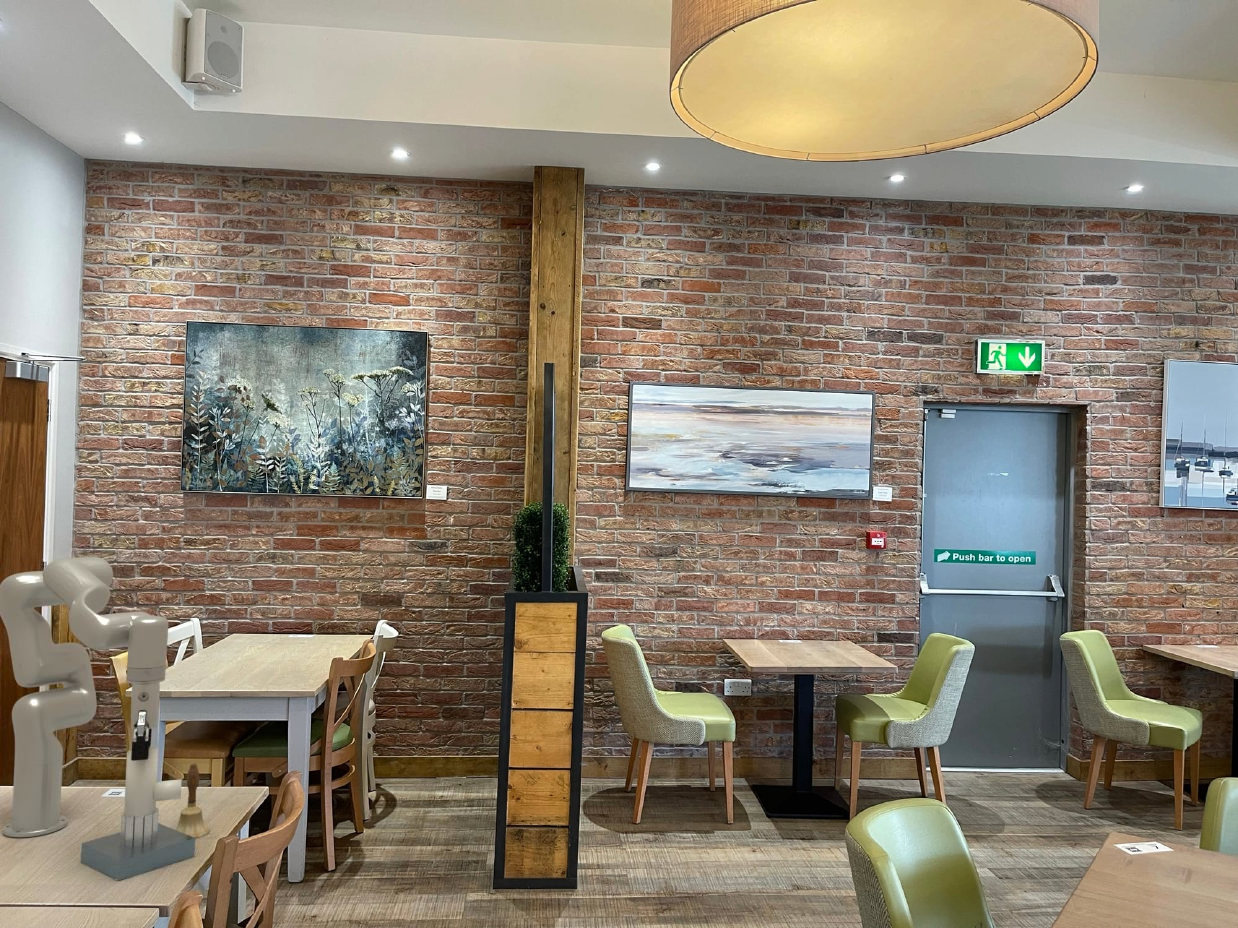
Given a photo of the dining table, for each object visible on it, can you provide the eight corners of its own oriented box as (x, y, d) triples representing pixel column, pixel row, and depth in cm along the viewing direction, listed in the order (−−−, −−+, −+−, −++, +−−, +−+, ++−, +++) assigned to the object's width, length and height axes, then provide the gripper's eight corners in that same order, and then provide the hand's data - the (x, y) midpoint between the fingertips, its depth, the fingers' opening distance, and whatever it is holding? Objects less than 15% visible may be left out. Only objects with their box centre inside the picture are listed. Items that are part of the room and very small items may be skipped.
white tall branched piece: (122, 832, 188) (125, 755, 189) (124, 823, 193) (128, 748, 194) (179, 825, 192) (182, 750, 193) (180, 816, 198) (183, 743, 199)
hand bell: (217, 829, 210) (220, 761, 210) (190, 841, 202) (193, 770, 203) (190, 825, 212) (192, 757, 213) (161, 837, 204) (164, 766, 205)
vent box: (80, 861, 189) (83, 814, 190) (155, 839, 202) (157, 795, 203) (118, 880, 180) (120, 830, 181) (194, 856, 193) (196, 809, 194)
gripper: (163, 681, 187) (158, 763, 187) (166, 665, 203) (162, 741, 202) (123, 682, 184) (117, 766, 183) (129, 667, 200) (124, 744, 199)
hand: (141, 753), depth 193 cm, fingers open, 9 cm apart
